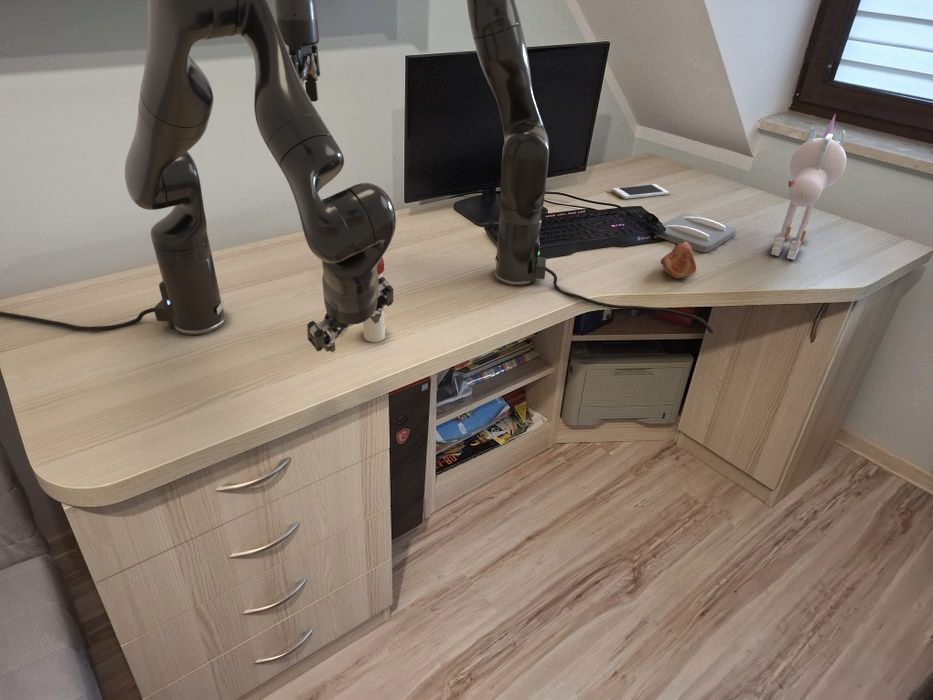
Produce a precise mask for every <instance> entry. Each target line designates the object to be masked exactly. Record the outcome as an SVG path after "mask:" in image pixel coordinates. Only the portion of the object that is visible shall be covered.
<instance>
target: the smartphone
mask: <svg viewBox="0 0 933 700" xmlns="http://www.w3.org/2000/svg"><path fill="white" fill-rule="evenodd" d="M611 191H612V193H614V194H616V195H617V196H619V197H621V198H622V199H624V200H628V199H635V198H636V199H637V198H645V197H653V196H661V195H662V196H663V195H668V194H669V190H668V189H667V190H666V189H665V188H663V187H662V186H660V185H658V184H656V183H651V184H650V183H649V184H641V185H632V186H622V187H614V188H612V190H611Z"/></svg>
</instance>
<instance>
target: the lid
mask: <svg viewBox="0 0 933 700" xmlns="http://www.w3.org/2000/svg"><path fill="white" fill-rule="evenodd" d="M384 271H385V260H384V256H383V257H382V258H381V260H380V261H379V263H378V270H377V273H378V275H380V274H381V273H382V274H383V273H384Z"/></svg>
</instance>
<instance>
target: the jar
mask: <svg viewBox="0 0 933 700" xmlns="http://www.w3.org/2000/svg"><path fill="white" fill-rule="evenodd" d="M381 277H383V273H381V274H380V275H378V279H379V278H381ZM378 297H379V295H378ZM383 309H384V310H383V312H382V314H381V317H380V318H379V322H378V323H376V324H375V323H374V322H373V321H372V319H371V318H369V319H367V320H366V321H364V322H362V330H363V339H364V340H365V341H367V342H369V343H370V342H371V343H377V342H381V341H383V340H384V339H385V338H386V327H385V306H384V307H383Z"/></svg>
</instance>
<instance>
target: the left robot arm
mask: <svg viewBox="0 0 933 700" xmlns="http://www.w3.org/2000/svg"><path fill="white" fill-rule="evenodd" d="M237 36H239V37H240V38H241V39H242V40H243V42H245V44H246V46H247V47H248V49H249V51H250V52H251V54H252V58H253V60H254V70H255V77H254V97H253V99H254V100H253V109H254V116H255V122H256V126H257V128H258V132H259V133H260V136H261V137H262V140H263V142H264V144H265V146H266V147H267V148H268V150H269V152H270V153H271V155H272V157H273V158H274V160H275V162H276V164H277V165H278V167H279V168H280V170H281V172H282V173H283V175H284V177H285V179H286V181H287V183H288V186H289V188H290V190H291V192H292V195H293V198H294V201H295V204H296V207H297V210H298V215H299V219H300V223H301V227H302V231H303V235H304V238H305V241H306V244H307V246H308V248H309V250H310V251H311V252H312V253H313V254H314V256H315V257H317V258H318V259H319V260H321V264H322V265H321V266H322V276H321V277H322V279H321V281H322V292H323V301H324V307H325V311H326V313H325V315H324V318H323V320H321V321H319V322H316V321H314V320H311V321H309V322H308V323H307V324H306V332H307V340H308V342H309V343H310V344H311V345H312V346H313V348H314V350H315V351H316V352H321V351H322V350H323V349H324V350H325V352H327V353H328V352H330V353H333V352H335V351H336V341H337V339H340V338H342V337H344V335H345V334H346V332H347V331H348V330H349V329H350V328H352V327H353V326H354V325H360V324H363V322H364V321H366V320H367V319H369V318H371V319H372V321H373V322H374V323H375V324H376V323H378V322H379V318H380V317H381V314H382V312H383V310H384V311H385V306H387V307H389V306H392V305H393V303H394V288H393V286H392V285H391V284H390V283H389V281H388V280H387V279H386V278H385V277H384V276H382V277H381V278H379V279H378V273H377V270H378V263H379V261H380V260H381V258H382V257H383V258H384V255H385V253H386V252H387V250H388V248H389V246H390V244H391V243H392V240H393V238H394V235H395V232H396V226H397V225H396V223H397V220H396V219H397V218H396V211H395V207H394V204H393V201H392V200H391V199H392V198H391V197H390V196H389V195H388V193H387V192H386V191H385V190H383V189H382V188H381V187H380V186H379V185H377V184H375V183H372V182H371V183H370V182H360V183H357V184H353V185H352V186H350V187H347V188H345V189H343V190H341V191H339V192H337V193H334V194H332V195H330V196H328V197H326V198H323V199H322V198H321V197H320V195H319V191H320V190H322V189H323V187H325V186H326V185H328V184H329V183H330V182H331V181H333V180H334V178H336V177H337V176H338V175H339V174H340V173H341V171H342V170H343V168H344V165H345V158H344V157H345V156H344V154H343V152H342V150H341V147H340V146H339V144H338V143H337V141H336V139H335V138H334V136H333V134H332V133H331V132H330V130H329V128H328V126H327V125H326V123H325V122H324V119H322V117H321V115H320V113H319V112H318V110H317V108H316V107H315V105H314V104H313V101H311V100H310V98H309V96H308V95H307V93H306V88H305V87H304V84H303V85H302V83H301V81H300V79H299V76H298V74H297V72H296V69H295V67H294V65H293V62H292V60H291V57H290V55H289V49H288V48H287V47H288V46H287V45H285V42H284V40H283V37H282V35H281V33H280V30H279V28H278V26H277V20H276V19H275V17H274V14H273V11H272V9H271V7H270V4H269V2H268V0H147V40H146V41H147V43H146V52H145V62H144V69H143V75H142V79H141V83H140V91H139V98H138V107H137V118H136V125H135V130H134V134H133V138H132V141H131V144H130V146H129V149H128V152H127V155H126V159H125V163H124V182H125V186H126V189H127V192H128V195H129V196H130V198H131V201H133V202H134V204H136V205H137V206H138V207H139V208H141V209H143V210H148V211H156V210H162V209H167V208H171V207H173V208H172V209H171V211H170V212H169V213H168V214H166V216H165V217H163V218H161V219H160V220H159V221H157V222H156V223H154V224H153V225H152V227H151V229H150V239H151V243H152V245H153V249H154V253H155V256H156V261H157V265H158V268H159V272H160V276H161V281H160V282H159V284H158V289H159V292H160V295H161V300H160V301H159V302H158V303H157V304H156V305H155V306H154V307H150V308H146V309H145V310H143V311H140V313H138V316H137V317H136V318H133V319H131V320H129V321H126V322H122V323H119V324H111V325H99V326H98V325H97V326H82V325H77V324H76V325H75V324H71V323H67V322H62V321H56V320H51V319H45V318H40V317H35V316H29V315H23V314H17V313H11V312H5V311H0V317H6V318H12V319H17V320H22V321H29V322H35V323H40V324H46V325H50V326H57V327H61V328H66V329H71V330H75V331H84V332H92V331H93V332H94V331H111V330H117V329H121V328H126V327H129V326H133V325H135V324H137V323H139V322H140V321H142V319H143V318H144V316H146V315H147V314H151V313H154V314H155V319H156V322H167V323H168V325H169V329H170V330H175V331H176V332H178V333H179V334H182V335H187V336H189V335H190V336H197V335H203V334H204V335H205V334H208V333H212V332H214V331H216V330H218V329H220V328H221V327H222V326H223V325H224V324H225V322H226V314H225V311H224V307H225V305H226V304H225V299H222V298H221V293H220V288H219V284H218V278H217V273H216V268H215V264H214V259H213V253H212V250H211V244H210V240H209V236H208V228H207V224H208V223H207V218H206V212H205V206H204V199H203V198H204V197H203V192H202V184H201V181H200V180H201V179H200V175H199V171H198V167H197V165H196V163H195V159H193V157H192V155H191V154H190V152H189V151H190V150H191V149H192V148H193V147H194V146H195V145H196V144H198V143H199V141H201V139H202V137H203V136H204V134H205V133H206V130H207V128H208V126H209V125H208V124H209V121H210V117H211V115H212V111H213V107H214V92H213V88H212V85H211V83H210V81H209V79H208V77H207V76H206V75H205V73H204V72H203V70H202V69H201V68H200V66H199V65H198V64H197V63H196V61H195V60H194V59H193V58H192V57H191V56H190V55H191V54H190V53H191V50H192V47H193V46H194V45H195V44H196V43H197V42H200V41H204V40H205V41H206V40H214V39H215V40H216V39H222V38H229V37H237ZM378 295H379V297H378ZM383 307H384V309H383Z"/></svg>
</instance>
